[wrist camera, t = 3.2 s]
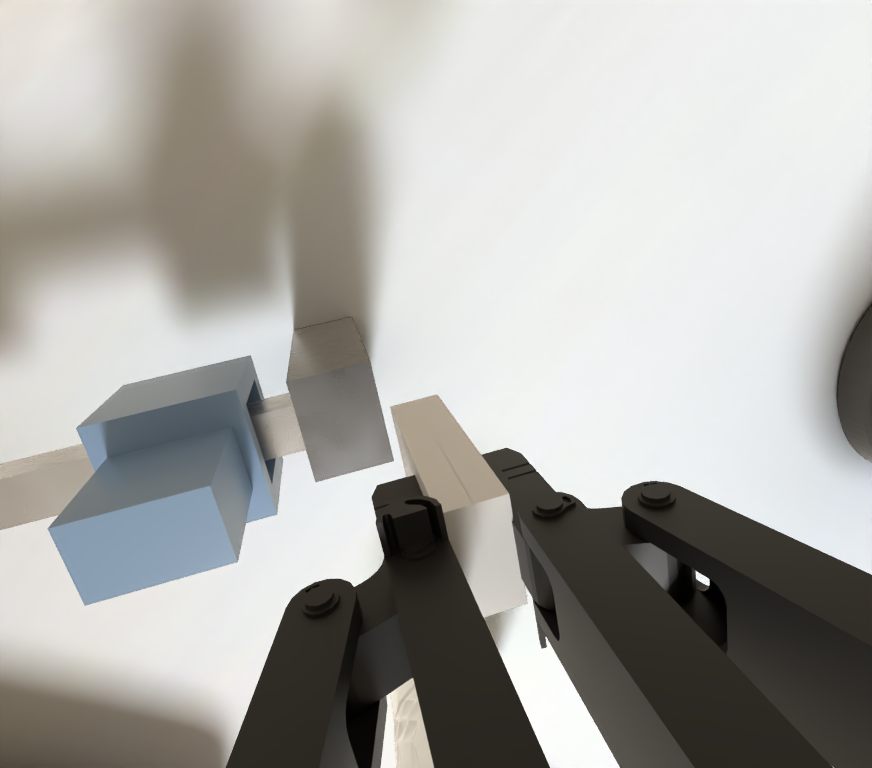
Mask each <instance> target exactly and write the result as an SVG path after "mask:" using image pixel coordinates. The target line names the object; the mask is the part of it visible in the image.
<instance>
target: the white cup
mask: <svg viewBox="0 0 872 768" xmlns="http://www.w3.org/2000/svg"><path fill="white" fill-rule="evenodd" d="M391 704H392V712H393V720H394V746H395V755H396V768H434V765H433V761H432V757H431V752H430V748H429V744H428V740H427V735H426V731H425V727H424V723H423V718H422V714H421V710H420V705H419V701H418V697H417V693H416V688H415V684H414V680H413V678H412V679H410V680H409V681H407V682H406V683H404V684H403V685H401V686H400V687H398V688H397V689H395V690H394V691H392V692H391Z"/></svg>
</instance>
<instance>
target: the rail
mask: <svg viewBox="0 0 872 768" xmlns="http://www.w3.org/2000/svg"><path fill="white" fill-rule="evenodd" d="M286 383H287V386H288V390H289V393H287V394H283V395H279V396H274V397H270V398H266V399H262V400H258V401H254V402H250V403H246V406H247V409H248V412H249V415H250V418H251V421H252V424H253V427H254V430H255V434H256V437H257V440H258V443H259V446H260V449H261V452H262V455H263V458H264V461H266V460H270V459H274V458H277V457H281V456H285V455H289V454H293V453H296V452H300V451H304V450H306V451H307V454H308V458H309V461H310V465H311V468H312V471H313V475H314V478H315V482H318V481H322V480H325V479H329V478H333V477H336V476H340V475H344V474H348V473H351V472H355V471H359V470H362V469H366V468H370V467H373V466H377V465H381V464H384V463H388V462H392V461H394V459H393V455H392V451H391V447H390V442H389V438H388V434H387V430H386V426H385V422H384V417H383V413H382V409H381V405H380V401H379V397H378V392H377V388H376V384H375V380H374V376H373V372H372V367H371V363H370V360H369V358H368V355H367V353H366V350H365V348H364V345H363V343H362V341H361V338H360V336H359V333H358V331H357V328H356V326H355V324H354V321H353V319H352V317H348V318H344V319H340V320H335V321H331V322H327V323H322V324H318V325H314V326H309V327H305V328H301V329H296V330H294V331H293V338H292V345H291V352H290V359H289V366H288V373H287V380H286ZM94 473H95V470H94V468H93V466H92V464H91V461H90V459H89V457H88V454H87V452H86V450H85V447H84V445H83V444H80V445H76V446H72V447H68V448H64V449H60V450H55V451H51V452H47V453H43V454H39V455H35V456H31V457H27V458H23V459H19V460H15V461H11V462H7V463H3V464H0V530H3V529H6V528H10V527H14V526H18V525H22V524H25V523H29V522H33V521H37V520H41V519H45V518H48V517H52V516H56V515H60V513H61V512H62V511H63V510H64V509H65V507H66V506H67V505H68V504H69V503H70V501H71V500H72V499H73V498H74V497H75V495H76V494H77V493H78V492H79V491H80V490H81V488H82V487H83V486H84V485H85V484H86V482H87V481H88V480H89V479H90V478H91V476H92V475H93V474H94Z"/></svg>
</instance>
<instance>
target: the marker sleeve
mask: <svg viewBox="0 0 872 768" xmlns="http://www.w3.org/2000/svg"><path fill="white" fill-rule="evenodd" d="M262 399H264V397H263V394H262V390H261V387H260V384H259V381H258V377H257V374H256V371H255V368H254V365H253V361H252V358H251V355H250V356H246V357H242V358H237V359H233V360H229V361H225V362H220V363H216V364H212V365H208V366H203V367H199V368H195V369H191V370H186V371H182V372H178V373H174V374H169V375H165V376H161V377H156V378H152V379H148V380H144V381H139V382H135V383H131V384H127V385H123V386H122V387H121V388H120V389H119V390H118V391H117V392H115V393H114V394H113V395H112V396H111V397H110V398H109V399H108V400H107V401H106V402H104V403H103V404H102V405H101V406H100V407H99V408H98V409H97V410H96V411H95V412H93V413H92V414H91V415H90V416H89V417H88V418H87V419H86V420H85V421H84V422H83V423H81V424H80V425H79V426H78V427H77V428H76V429H77V431H78V434H79V436H80V438H81V441H82V443H83V445H84V447H85V450H86V452H87V454H88V457H89V459H90V461H91V464H92V466H93V468H94V470H95V473H94V474H93V475H92V476H91V478H90V479H89V480H88V481H87V482H86V484H85V485H84V486H83V487H82V488H81V490H80V491H79V492H78V493H77V494H76V495H75V497H74V498H73V499H72V500H71V501H70V503H69V504H68V505H67V506H66V507H65V509H64V510H63V511H62V512H61V513H60V515H59V516H58V517H57V518H56V519H55V521H54V522H53V523H52V524H51V525H50V527H49V528H48V530H49V532H50V534H51V536H52V539H53V541H54V543H55V545H56V547H57V549H58V551H59V553H60V555H61V557H62V559H63V561H64V563H65V565H66V568H67V570H68V572H69V574H70V576H71V578H72V580H73V582H74V584H75V586H76V588H77V590H78V592H79V594H80V597H81V599H82V601H83V603H84V605H89V604H92V603H96V602H99V601H103V600H106V599H110V598H113V597H117V596H120V595H124V594H127V593H131V592H134V591H138V590H141V589H145V588H148V587H152V586H155V585H159V584H162V583H166V582H169V581H173V580H176V579H180V578H183V577H187V576H190V575H194V574H197V573H201V572H204V571H208V570H211V569H215V568H218V567H222V566H225V565H229V564H232V563H236V562H238V558H239V554H240V549H241V544H242V539H243V534H244V530H245V525H246V523H248V522H252V521H255V520H259V519H263V518H266V517H270V516H273V515H277V510H278V501H279V492H280V483H281V474H282V465H283V458H282V456H281V457H277V458H274V459H270V460H266V461H264V458H263V455H262V452H261V449H260V446H259V443H258V440H257V437H256V434H255V430H254V427H253V424H252V421H251V418H250V415H249V412H248V409H247V406H246V403H250V402H254V401H258V400H262Z"/></svg>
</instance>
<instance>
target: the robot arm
mask: <svg viewBox="0 0 872 768" xmlns="http://www.w3.org/2000/svg"><path fill="white" fill-rule="evenodd" d="M390 408H391V413H392V417H393V421H394V425H395V430H396V434H397V438H398V443H399V447H400V451H401V455H402V460H403V464H404V468H405V472H406V477H405V478H402V479H398V480H395V481H391V482H387V483H384V484H380V485H377V487H376V489H375V491H374V493H373V495H372V501H373V505H374V509H375V514H376V518H377V519H376V526H377V530H378V533H379V537H380V541H381V545H382V549H383V552H384V560H383V563H382V565H381V567H380V568H379V569H378V571H377V572H376V573H375V574H374V575H373V576H371V577H370V578H369V579H367V580H366V581H364V582H363V583H361V584H359V585H357V586H356V587H353V585H352V584H351V583H350V582H348V581H345V580H342V579H326V580H322V581H319V582H315V583H313V584H311V585H309V586H307V587H306V588H304V589H302V590H301V591H300V592H299V593H297V594H296V595H295V596H294V597H293V598H292V599H291V601H290V602H289V604H288V606H287V607H286V609H285V612H284V615H283V617H282V620H281V623H280V625H279V628H278V631H277V633H276V636H275V639H274V641H273V644H272V646H271V649H270V652H269V654H268V657H267V660H266V662H265V665H264V668H263V670H262V673H261V676H260V678H259V681H258V684H257V686H256V689H255V692H254V694H253V697H252V700H251V702H250V705H249V708H248V710H247V713H246V715H245V718H244V721H243V723H242V726H241V729H240V731H239V734H238V737H237V739H236V742H235V745H234V747H233V750H232V753H231V755H230V758H229V761H228V763H227V766H226V768H380V766H381V757H382V748H383V739H384V730H385V721H386V712H387V699H386V695H388V694H389V693H391V692H392V691H394V690H395V689H397V688H398V687H400V686H401V685H403V684H404V683H406V682H407V681H409V680H410V679H412V678H413V680H414V684H415V688H416V693H417V697H418V701H419V705H420V710H421V714H422V718H423V723H424V727H425V731H426V735H427V740H428V744H429V748H430V752H431V757H432V761H433V765H434V768H550V767H549V764H548V762H547V760H546V758H545V755H544V753H543V751H542V748H541V746H540V744H539V742H538V739H537V737H536V735H535V733H534V730H533V728H532V726H531V724H530V721H529V719H528V717H527V715H526V712H525V710H524V708H523V706H522V703H521V701H520V699H519V697H518V694H517V692H516V690H515V688H514V685H513V683H512V681H511V679H510V676H509V674H508V672H507V670H506V667H505V665H504V663H503V661H502V658H501V656H500V654H499V652H498V649H497V647H496V645H495V643H494V640H493V638H492V636H491V633H490V631H489V629H488V627H487V624H486V622H485V620H484V618H485V617H488V616H491V615H494V614H497V613H500V612H503V611H506V610H509V609H513V608H516V607H519V606H522V605H525V604H528V602H527V596H526V591H525V585H526V587H527V589H528V590H529V592H530V594H531V596H532V598H533V604H534V610H535V616H536V622H537V628H538V634H539V640H540V644H541V648H542V649H543V648H546V647H547V646H546V639H545V637H547V638H548V640H549V642H550V644H551V646H552V647H553V649H554V651H555V653H556V654H557V656H558V658H559V660H560V661H561V663H562V665H563V667H564V669H565V670H566V672H567V674H568V676H569V677H570V679H571V681H572V683H573V685H574V686H575V688H576V690H577V692H578V693H579V695H580V697H581V699H582V701H583V702H584V704H585V706H586V708H587V709H588V711H589V713H590V715H591V716H592V718H593V720H594V722H595V724H596V725H597V727H598V729H599V731H600V732H601V734H602V736H603V738H604V740H605V741H606V743H607V745H608V747H609V748H610V750H611V752H612V754H613V756H614V757H615V759H616V761H617V763H618V764H619V766H620V768H833V767H834V768H872V575H871V574H869V573H867V572H864V571H862V570H860V569H858V568H856V567H854V566H851V565H849V564H847V563H845V562H843V561H841V560H838V559H836V558H834V557H832V556H830V555H828V554H825V553H823V552H821V551H819V550H817V549H815V548H812V547H810V546H808V545H806V544H804V543H802V542H799V541H797V540H795V539H793V538H791V537H789V536H787V535H784V534H782V533H780V532H778V531H776V530H774V529H771V528H769V527H767V526H765V525H763V524H761V523H758V522H756V521H754V520H752V519H750V518H748V517H745V516H743V515H741V514H739V513H737V512H735V511H732V510H730V509H728V508H726V507H724V506H722V505H720V504H717V503H715V502H713V501H711V500H709V499H707V498H704V497H702V496H700V495H698V494H696V493H694V492H691V491H689V490H687V489H685V488H683V487H681V486H678V485H675V484H671V483H668V482H658V481H650V482H643V483H640V484H637V485H633V486H631V487H630V488H628V489H627V490H626V491H624V493H623V496H622V507H612V508H599V509H590V508H587V507H586V506H585V505H584V504H583V503H582V502H581V501H580V500H579V499H577V498H576V497H574V496H573V495H570V494H566V493H562V492H555V491H554V490H553V489H552V487H551V486H550V485H549V484H548V483H547V482H546V481H545V480H544V479H543V477H542V476H541V475H540V474H539V473H538V472H536V470H535V468H534V467H533V466H532V465H531V464H529V462H528V461H527V460H526V458H525V457H524V456H523V455H522V454H521V453H519V452H516V451H514V450H511V449H509V448H504V449H501V450H497V451H493V452H490V453H486V454H483V455H481V454H480V453H479V451H478V450H477V449H476V447H475V446H474V444H473V443H472V442H471V440H470V439H469V438H468V436H467V435H466V433H465V432H464V431H463V429H462V428H461V426H460V425H459V424H458V422H457V421H456V420H455V418H454V417H453V415H452V414H451V413H450V411H449V410H448V409H447V407H446V406H445V404H444V403H443V402H442V400H441V399H440V398H439V396H438V395H434V396H430V397H426V398H422V399H418V400H414V401H410V402H407V403H403V404H399V405H395V406H391V407H390ZM838 411H839V417H840V422H841V425H842V428H843V431H844V433H845V435H846V437H847V439H848V441H849V442H850V444H851V445H852V447H853V448H854V449H855V450H856V451H857V452H858V453H859V454H860V455H861V456H862V457H864V458H865V459H867V460H868V461H870V462H872V305H871V307H870V308H869V309H868V311H867V312H866V314H865V315H864V317H863V318H862V320H861V322H860V323H859V325H858V327H857V329H856V330H855V332H854V334H853V336H852V339H851V341H850V343H849V345H848V348H847V350H846V353H845V356H844V359H843V363H842V367H841V371H840V376H839V383H838ZM695 570H696V571H697V572H699V573H701V574H702V575H704V576H706V577H707V578H709V579H710V585H709V586H707V585H705V584H703V583H701V582H700V581H698V580H696V572H695ZM524 584H525V585H524ZM832 766H833V767H832Z"/></svg>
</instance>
